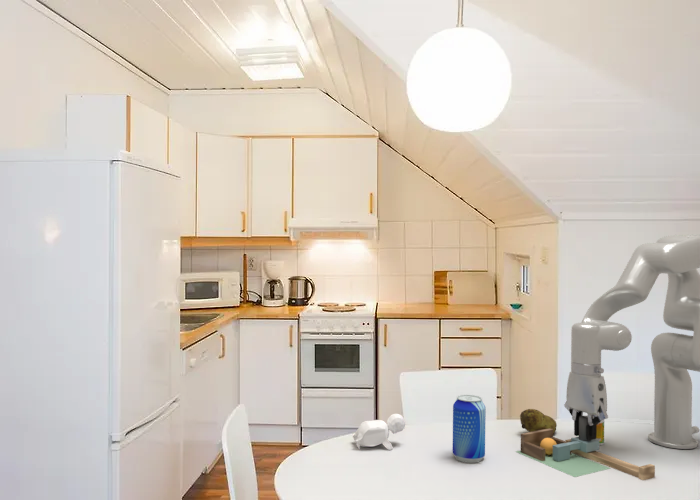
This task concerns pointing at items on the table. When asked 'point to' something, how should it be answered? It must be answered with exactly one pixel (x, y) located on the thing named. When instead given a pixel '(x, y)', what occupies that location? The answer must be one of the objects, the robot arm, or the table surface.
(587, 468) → the felt mat
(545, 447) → the ball
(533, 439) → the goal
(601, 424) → the supplement bottle
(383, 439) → the white turtle figurine
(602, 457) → the rail
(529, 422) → the potato
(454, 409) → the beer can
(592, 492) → the table surface
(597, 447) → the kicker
